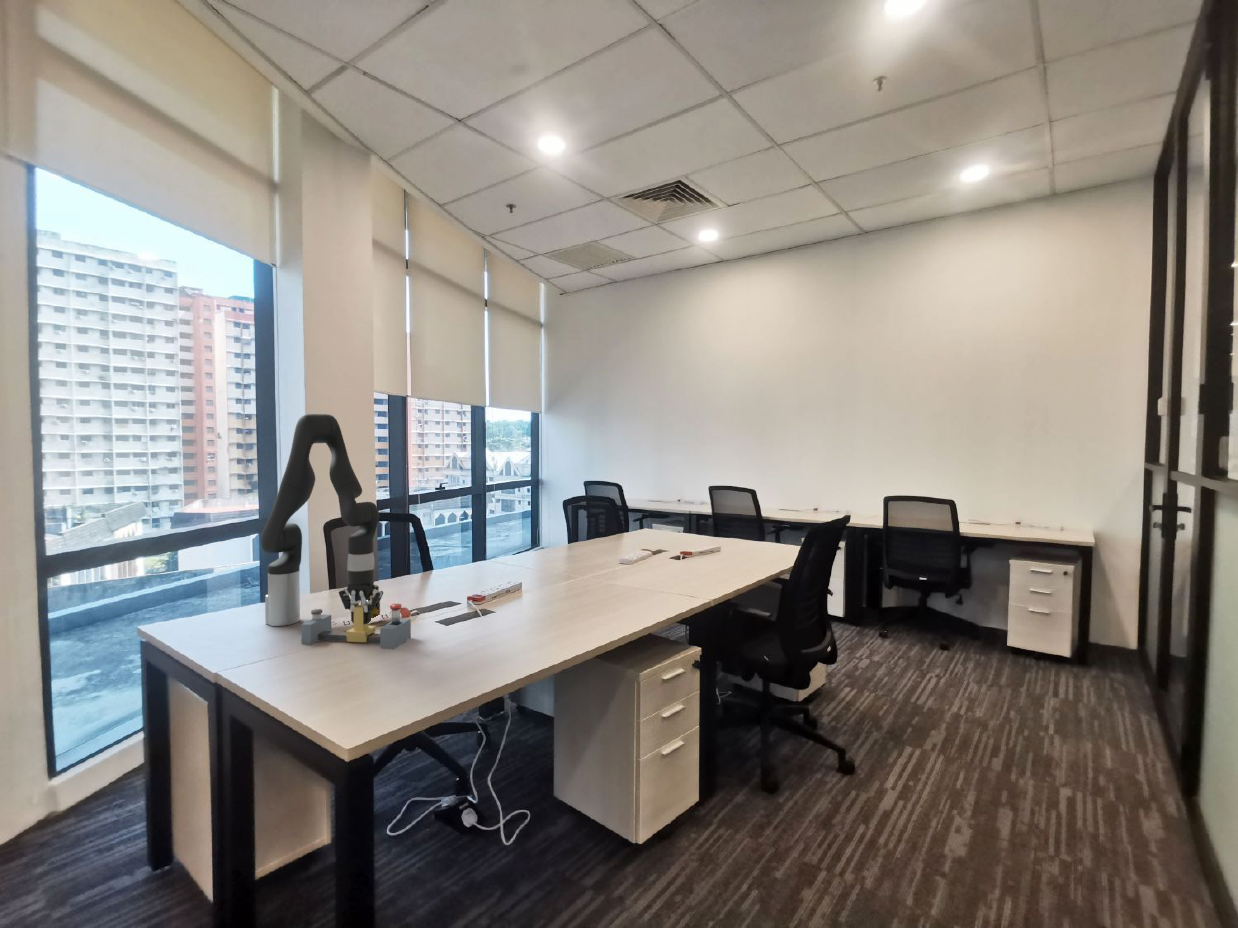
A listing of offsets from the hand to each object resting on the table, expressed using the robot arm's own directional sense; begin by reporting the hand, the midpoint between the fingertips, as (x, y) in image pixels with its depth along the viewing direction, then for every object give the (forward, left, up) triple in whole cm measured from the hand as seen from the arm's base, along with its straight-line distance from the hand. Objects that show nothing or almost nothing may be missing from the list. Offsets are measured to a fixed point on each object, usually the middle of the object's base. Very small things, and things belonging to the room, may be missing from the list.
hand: (361, 622), depth 172 cm
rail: (-2, 0, -6) cm, 6 cm away
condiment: (-9, +18, -6) cm, 21 cm away
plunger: (+11, 0, 0) cm, 11 cm away
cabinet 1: (-15, 0, -6) cm, 16 cm away
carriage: (0, 0, -6) cm, 6 cm away
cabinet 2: (+11, 0, -6) cm, 13 cm away
